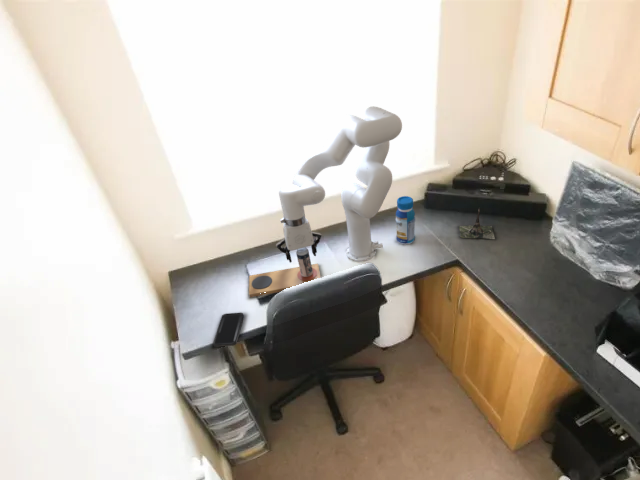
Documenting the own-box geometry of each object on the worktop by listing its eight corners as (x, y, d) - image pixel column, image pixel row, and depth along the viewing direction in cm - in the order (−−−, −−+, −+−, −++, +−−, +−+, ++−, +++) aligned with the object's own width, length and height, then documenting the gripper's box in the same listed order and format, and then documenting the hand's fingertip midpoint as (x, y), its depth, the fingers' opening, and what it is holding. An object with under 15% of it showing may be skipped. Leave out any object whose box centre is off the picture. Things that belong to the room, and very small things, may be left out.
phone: (243, 312, 151) (235, 343, 140) (244, 314, 152) (236, 345, 141) (222, 313, 151) (211, 344, 140) (223, 316, 152) (213, 347, 141)
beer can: (310, 278, 164) (305, 253, 156) (299, 277, 165) (293, 252, 157) (314, 270, 167) (309, 246, 159) (303, 269, 168) (298, 245, 160)
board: (318, 266, 172) (317, 262, 171) (321, 284, 164) (321, 280, 162) (250, 278, 168) (249, 275, 167) (250, 297, 159) (248, 294, 158)
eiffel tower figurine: (491, 226, 189) (495, 200, 180) (494, 239, 182) (499, 212, 173) (458, 226, 190) (461, 200, 181) (460, 239, 183) (462, 212, 174)
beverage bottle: (416, 243, 181) (417, 203, 168) (397, 246, 181) (396, 205, 167) (413, 233, 188) (413, 193, 174) (394, 235, 187) (393, 195, 174)
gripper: (273, 229, 144) (282, 268, 155) (321, 218, 149) (326, 257, 160) (269, 219, 149) (278, 257, 160) (315, 209, 154) (320, 247, 165)
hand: (302, 257), depth 160 cm, fingers open, 9 cm apart
